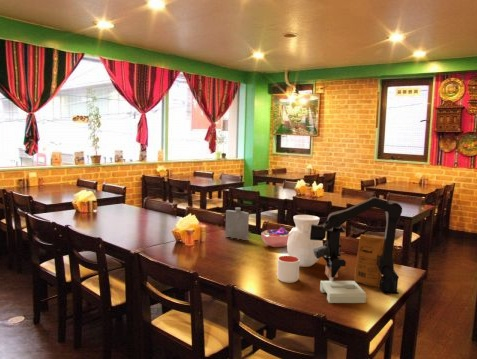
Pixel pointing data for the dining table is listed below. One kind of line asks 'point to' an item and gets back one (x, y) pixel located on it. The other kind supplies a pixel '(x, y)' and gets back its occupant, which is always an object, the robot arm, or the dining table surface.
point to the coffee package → (368, 261)
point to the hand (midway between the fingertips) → (331, 275)
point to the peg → (329, 273)
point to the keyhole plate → (343, 292)
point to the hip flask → (237, 224)
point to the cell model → (276, 237)
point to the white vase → (303, 240)
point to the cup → (288, 269)
